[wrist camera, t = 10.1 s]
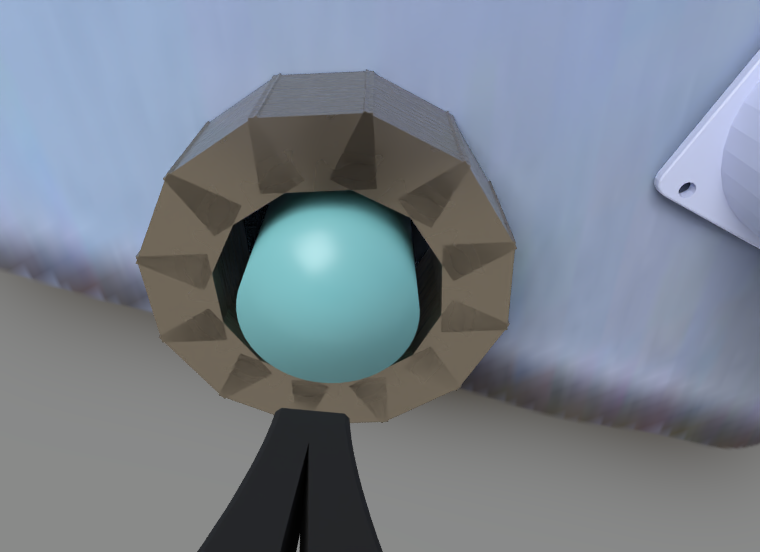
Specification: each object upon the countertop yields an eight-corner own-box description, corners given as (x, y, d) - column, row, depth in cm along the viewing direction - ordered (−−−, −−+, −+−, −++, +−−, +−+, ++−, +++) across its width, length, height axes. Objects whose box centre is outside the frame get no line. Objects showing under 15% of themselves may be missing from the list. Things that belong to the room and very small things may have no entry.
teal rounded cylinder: (436, 197, 19) (453, 280, 15) (371, 305, 21) (370, 403, 17) (299, 132, 18) (275, 203, 14) (246, 254, 20) (212, 346, 16)
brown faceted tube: (551, 166, 18) (590, 225, 15) (398, 379, 23) (401, 460, 20) (249, 4, 16) (214, 30, 12) (146, 281, 21) (101, 355, 17)
